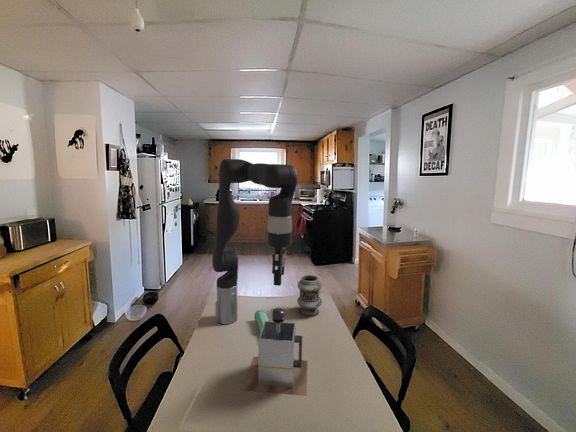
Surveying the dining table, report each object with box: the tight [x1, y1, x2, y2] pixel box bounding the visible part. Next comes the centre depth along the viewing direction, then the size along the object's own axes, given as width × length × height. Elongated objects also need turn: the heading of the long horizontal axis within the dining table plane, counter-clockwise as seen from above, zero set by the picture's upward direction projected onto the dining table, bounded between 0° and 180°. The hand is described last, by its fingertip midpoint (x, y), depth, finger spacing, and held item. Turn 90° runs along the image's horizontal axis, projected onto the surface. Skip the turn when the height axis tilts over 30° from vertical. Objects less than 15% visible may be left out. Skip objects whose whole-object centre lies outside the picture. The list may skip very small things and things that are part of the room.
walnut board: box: [242, 355, 309, 397], centre depth 93 cm, size 20×16×1 cm
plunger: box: [271, 307, 286, 340], centre depth 91 cm, size 8×8×17 cm
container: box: [253, 309, 269, 334], centre depth 117 cm, size 6×6×25 cm
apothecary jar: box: [297, 274, 323, 318], centre depth 137 cm, size 12×12×18 cm
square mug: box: [257, 320, 303, 388], centre depth 92 cm, size 14×11×16 cm
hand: (279, 279), depth 88 cm, fingers open, 8 cm apart
